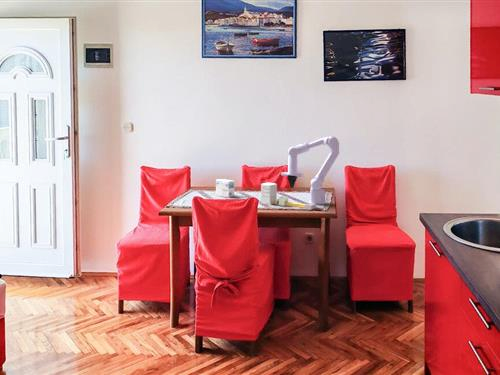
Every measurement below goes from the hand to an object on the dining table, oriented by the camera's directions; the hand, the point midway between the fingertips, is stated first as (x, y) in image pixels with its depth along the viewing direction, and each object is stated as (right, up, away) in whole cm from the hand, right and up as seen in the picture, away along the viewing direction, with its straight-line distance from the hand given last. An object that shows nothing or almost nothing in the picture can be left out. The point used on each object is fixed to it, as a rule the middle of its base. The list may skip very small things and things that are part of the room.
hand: (291, 187), depth 398 cm
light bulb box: (-43, -6, +22) cm, 49 cm away
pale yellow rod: (0, -11, -8) cm, 14 cm away
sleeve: (-6, -11, -5) cm, 13 cm away
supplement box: (-15, -10, 0) cm, 18 cm away
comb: (+10, -13, -13) cm, 20 cm away
